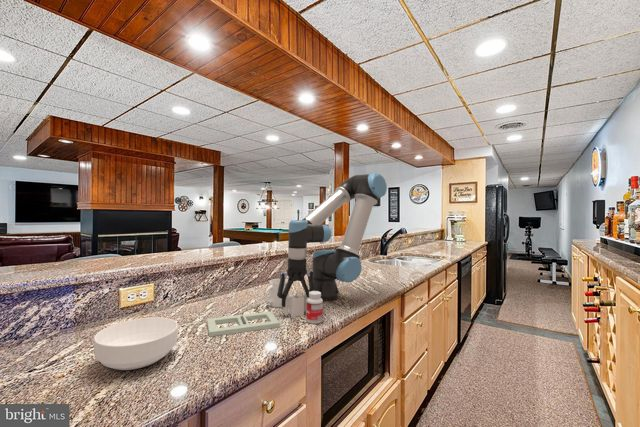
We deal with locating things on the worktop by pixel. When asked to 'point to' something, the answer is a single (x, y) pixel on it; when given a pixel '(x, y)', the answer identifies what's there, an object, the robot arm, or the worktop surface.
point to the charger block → (296, 305)
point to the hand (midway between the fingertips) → (295, 313)
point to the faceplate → (241, 323)
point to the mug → (275, 293)
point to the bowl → (135, 342)
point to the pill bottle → (314, 307)
